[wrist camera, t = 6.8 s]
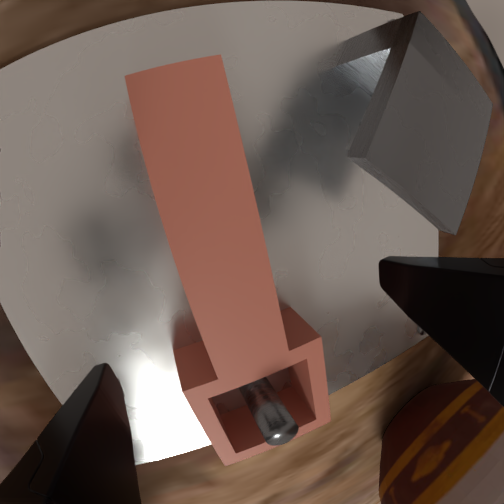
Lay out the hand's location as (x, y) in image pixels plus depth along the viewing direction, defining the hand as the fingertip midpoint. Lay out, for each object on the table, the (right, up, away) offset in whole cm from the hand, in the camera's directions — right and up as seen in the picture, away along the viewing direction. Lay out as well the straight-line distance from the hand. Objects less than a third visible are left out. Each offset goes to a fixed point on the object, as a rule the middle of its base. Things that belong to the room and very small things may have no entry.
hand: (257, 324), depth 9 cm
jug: (+15, -15, +16) cm, 26 cm away
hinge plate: (0, +2, +5) cm, 6 cm away
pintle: (0, -4, +7) cm, 8 cm away
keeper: (+5, +8, +5) cm, 11 cm away
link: (-2, +1, +5) cm, 5 cm away
